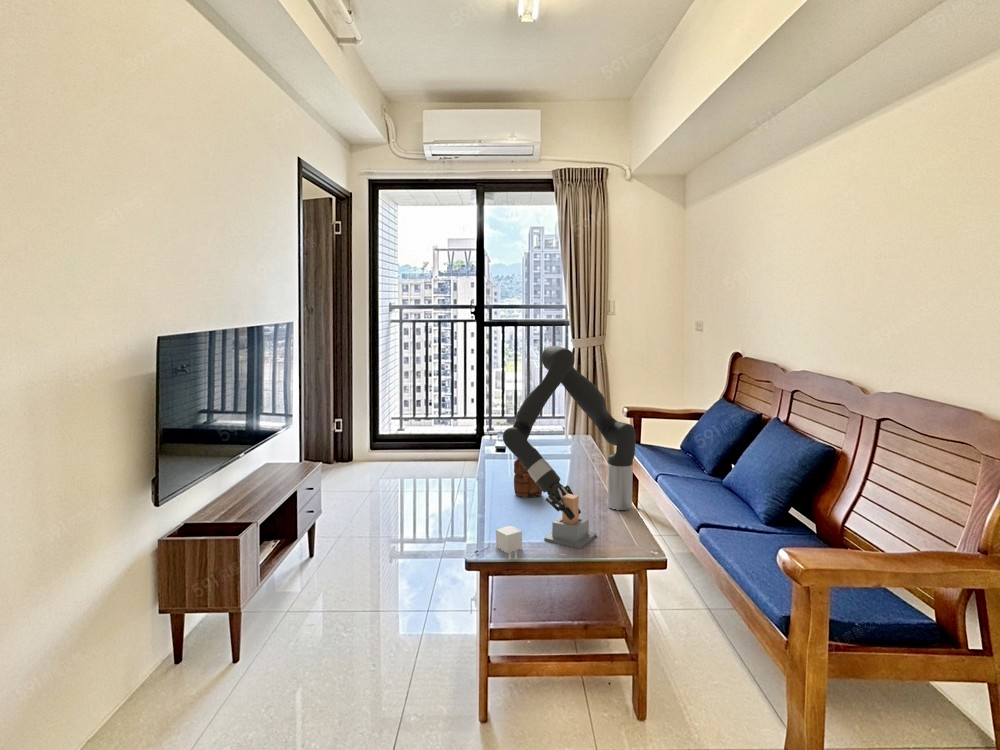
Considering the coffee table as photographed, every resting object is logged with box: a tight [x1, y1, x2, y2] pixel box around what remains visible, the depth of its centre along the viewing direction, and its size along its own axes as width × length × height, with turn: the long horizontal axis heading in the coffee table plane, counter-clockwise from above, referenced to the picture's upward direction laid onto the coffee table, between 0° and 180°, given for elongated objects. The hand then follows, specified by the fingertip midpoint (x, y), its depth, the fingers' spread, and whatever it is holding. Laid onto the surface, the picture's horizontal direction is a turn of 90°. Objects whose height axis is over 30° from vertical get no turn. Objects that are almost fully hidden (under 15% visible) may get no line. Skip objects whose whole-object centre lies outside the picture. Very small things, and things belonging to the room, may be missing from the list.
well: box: [543, 516, 598, 550], centre depth 191 cm, size 13×13×6 cm
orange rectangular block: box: [561, 494, 580, 525], centre depth 190 cm, size 4×4×12 cm
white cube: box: [495, 525, 523, 554], centre depth 183 cm, size 6×6×6 cm
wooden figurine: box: [513, 457, 543, 498], centre depth 237 cm, size 12×6×18 cm, turn 96°
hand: (575, 516), depth 189 cm, fingers closed on orange rectangular block, 4 cm apart
